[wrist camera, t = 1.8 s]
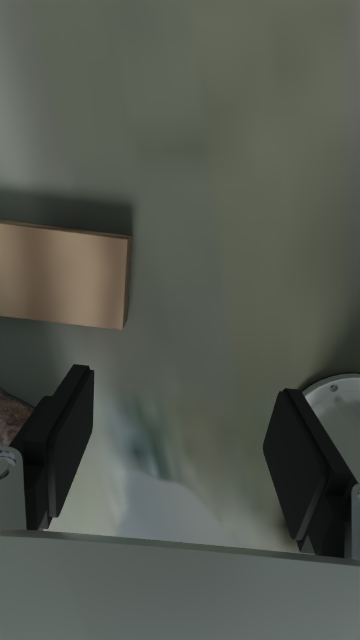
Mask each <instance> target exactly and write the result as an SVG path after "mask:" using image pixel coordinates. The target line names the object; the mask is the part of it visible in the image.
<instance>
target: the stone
mask: <svg viewBox="0 0 360 640" xmlns="http://www.w3.org/2000/svg"><path fill="white" fill-rule="evenodd" d="M33 411H34V408H32V407H30V406H28V405H27V404H26V403H24V402H22V401H20V400H18V399H17V398H14V397H11V396H9V395H7V394H6V393H5V392H3V391H2V390H1V389H0V447H1V446H5V447H8V446H9V444H10V443H11V442H12V440H13V439H14V437H15V436H16V435H17V433H18V432H19V430H20V429H21V427H22V426H23V425H24V423H25V422H26V420H27V419H28V418H29V416H30V415H31V413H32V412H33ZM37 531H43V529H41V528H39V529H38V530H37Z"/></svg>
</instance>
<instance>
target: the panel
mask: <svg viewBox="0 0 360 640" xmlns="http://www.w3.org/2000/svg"><path fill="white" fill-rule="evenodd" d="M131 250H132V236H127V235H120V234H112V233H104V232H96V231H88V230H80V229H72V228H64V227H56V226H48V225H40V224H32V223H24V222H17V221H9V220H1V219H0V316H4V317H13V318H22V319H31V320H39V321H48V322H57V323H66V324H75V325H83V326H92V327H101V328H110V329H118V330H123V328H124V325H125V323H126V321H127V315H128V299H129V283H130V266H131Z"/></svg>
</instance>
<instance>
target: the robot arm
mask: <svg viewBox="0 0 360 640" xmlns="http://www.w3.org/2000/svg"><path fill="white" fill-rule="evenodd" d="M93 401H94V370H90V368H89V366H86V365H77V364H74V365H73V366H72V367H71V369H70V370H69V372H68V373H67V375H66V376H65V378H64V379H63V381H62V382H61V384H60V385H59V387H58V388H57V390H56V391H55V393H54V394H53V396H44V397H43V398H42V399H41V401H40V402H39V404H38V405H37V406H36V408H35V409H34V411H33V412H32V413H31V415H30V416H29V418H28V419H27V420H26V422H25V423H24V425H23V426H22V427H21V429H20V430H19V432H18V433H17V435H16V436H15V437H14V439H13V440H12V442H11V443H10V444H9V446H8V447H5V446H1V447H0V640H360V374H355V373H354V374H341V375H336V376H331V377H328V378H326V379H323V380H320V381H318V382H317V383H315V384H313V385H311V386H309V387H308V388H307V389H306V390H304V391H303V392H301V391H300V390H296V389H288V388H285V389H284V390H283V392H282V391H280V392H279V393H278V396H277V399H276V403H275V406H274V409H273V413H272V416H271V419H270V423H269V426H268V430H267V433H266V436H265V440H264V443H263V452H264V456H265V459H266V462H267V465H268V468H269V471H270V474H271V477H272V480H273V483H274V487H275V490H276V493H277V496H278V499H279V502H280V505H281V508H282V511H283V514H284V517H285V521H286V524H287V527H288V530H289V533H290V536H291V538H292V539H293V540H296V541H297V544H298V547H299V550H300V552H302V553H313V554H315V555H308V554H298V553H288V552H278V551H267V550H257V549H247V548H236V547H224V546H214V545H204V544H192V543H182V542H171V541H160V540H147V539H136V538H125V537H113V536H101V535H90V534H78V533H65V532H50V531H37V530H38V529H39V528H41V529H48V528H49V525H50V523H51V520H52V518H53V517H56V518H57V517H58V516H59V515H60V512H61V510H62V507H63V505H64V502H65V500H66V497H67V495H68V492H69V489H70V487H71V484H72V482H73V479H74V477H75V474H76V472H77V469H78V466H79V464H80V461H81V459H82V456H83V454H84V451H85V449H86V446H87V443H88V441H89V438H90V436H91V433H92V428H93Z"/></svg>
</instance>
